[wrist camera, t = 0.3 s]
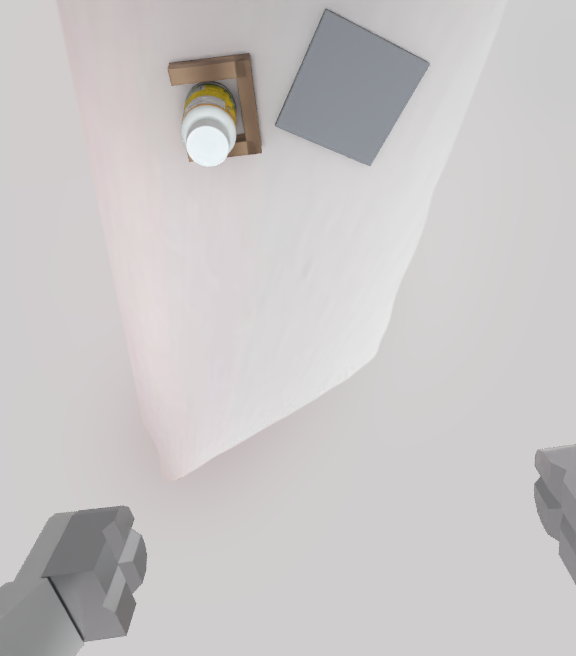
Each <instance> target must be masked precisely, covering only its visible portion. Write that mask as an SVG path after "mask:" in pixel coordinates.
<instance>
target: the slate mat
mask: <svg viewBox="0 0 576 656" xmlns="http://www.w3.org/2000/svg"><path fill="white" fill-rule="evenodd" d="M429 65H430V64H429V63H428V62H427V61H425V60H423V59H421V58H419V57H417V56H415V55H413V54H411V53H409V52H407V51H406V50H404V49H402V48H400V47H398V46H396V45H394V44H392V43H390V42H388V41H386V40H384V39H383V38H381V37H379V36H377V35H375V34H373V33H371V32H369V31H367V30H365V29H363V28H362V27H360V26H358V25H356V24H354V23H352V22H350V21H348V20H346V19H344V18H342V17H340V16H339V15H337V14H335V13H333V12H331V11H329V10H327V9H325V11H324V14H323V16H322V18H321V21H320V23H319V25H318V27H317V30H316V32H315V34H314V37H313V39H312V41H311V44H310V46H309V48H308V50H307V53H306V55H305V57H304V60H303V62H302V64H301V66H300V69H299V71H298V73H297V76H296V78H295V80H294V83H293V85H292V87H291V89H290V92H289V94H288V96H287V99H286V101H285V103H284V105H283V108H282V110H281V112H280V115H279V117H278V119H277V122H276V124H275V126H276V127H278V128H280V129H283V130H285V131H288V132H290V133H292V134H295V135H297V136H299V137H302V138H304V139H307V140H309V141H311V142H314V143H316V144H318V145H321V146H323V147H326V148H328V149H330V150H333V151H335V152H337V153H340V154H342V155H345V156H347V157H349V158H352V159H354V160H356V161H359V162H361V163H364V164H366V165H368V166H370V165H371V164H372V162H373V160H374V159H375V157H376V155H377V154H378V152H379V150H380V148H381V147H382V145H383V143H384V142H385V140H386V138H387V137H388V135H389V133H390V131H391V130H392V128H393V126H394V125H395V123H396V121H397V120H398V118H399V116H400V114H401V113H402V111H403V109H404V108H405V106H406V104H407V103H408V101H409V99H410V97H411V96H412V94H413V92H414V91H415V89H416V87H417V86H418V84H419V82H420V80H421V79H422V77H423V75H424V74H425V72H426V70H427V69H428V67H429Z"/></svg>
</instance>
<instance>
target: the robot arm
mask: <svg viewBox="0 0 576 656" xmlns="http://www.w3.org/2000/svg"><path fill="white" fill-rule="evenodd" d="M535 467H536V469H537V471H538V472H539V474H540V476H541V477H540V478H539V479H538V480H537V481H536V483H535V484H534V496H535V497H534V498H535V503H536V507H537V512H538V514H539V517H540V519H541V522H542V524H543V526H544V528H545V530H546V532H547V533H548V535H550V536H551V537H553V538H555V539H556V540H558V541H559V542H560V543H559V555H560V557H561V559H562V561H563V562H564V564H565V566H566V568H567V569H568V571H569V573H570V575H571V577H572V579H573V580H574V582H575V584H576V444H574V445H567V446H560V447H553V448H546V449H539V450H537V452H536V455H535ZM133 521H134V517H133V515H132V513H131V511H130V509H129V507H126V506H116V507H107V508H98V509H89V510H79V511H76V512H66V513H57V514H54V515H53V516H52V517H50V518H49V520H48V521H47V523H46V525H45V526H44V528H43V530H42V532H41V533H40V535H39V537H38V539H37V541H36V542H35V544H34V546H33V548H32V549H31V551H30V553H29V555H28V557H27V558H26V560H25V562H24V564H23V565H22V567H21V569H20V571H19V573H18V574H17V576H16V578H15V580H14V581H13V582H8V583H5V584H4V585H3V586H2V587H0V656H75V655H76V654H77V653H78V652H79V650H80V649H81V648H82V647H83V646H84V642H87V641H92V640H101V639H107V638H115V637H121V636H126V635H127V632H128V629H129V626H130V622H131V619H132V616H133V612H134V609H135V606H136V602H135V600H134V598H133V595H132V593H133V592H134V591H135V590H136V589H137V588H138V587H139V586H140V585H141V584H142V583H143V579H144V576H145V572H146V561H147V553H146V548H145V543H144V540H143V538H142V535H141V534H139V533H138V532H136V531H135V530H133V529H132V528H131V527H132V525H133Z"/></svg>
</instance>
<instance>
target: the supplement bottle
mask: <svg viewBox="0 0 576 656" xmlns="http://www.w3.org/2000/svg"><path fill="white" fill-rule="evenodd" d="M181 137H182V140H183V143H184V145H185V146H186V149H187V152H188V154H189V156H190V157H191V159H192V160H193V161H194V162H196V163H197V164H199V165H202V166H205V167H213V166H217V165H219V164H221V163H222V162H223V161H224V160H225V159H226V157H227V156H228V153H229V152H230V151H231V150H232V148H233V147H234V144H235V141H236V104H235V101H234V99H233V97H232V95H231V93H230V92H229V91H228V90H227V89H226V88H225V87H224V86H222V85H220V84H218V83H214V82H204V83H200V84H198V85H196V86H195V87H194V88H192V90H191V91H190V92H189V94H188V96H187V98H186V101H185V108H184V114H183V119H182V124H181Z"/></svg>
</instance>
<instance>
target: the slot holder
mask: <svg viewBox="0 0 576 656" xmlns="http://www.w3.org/2000/svg"><path fill="white" fill-rule="evenodd" d="M168 73H169V77H170V81H171V86H174V85H182V84H190V83H199V82H207V81H215V80H224V79H232V78H237V83H238V90H239V96H240V103H241V110H242V116H243V123H244V130H245V134H239V135H236V141H235V144H234V147H233V148H232V150H231V151H230V152H229V153H228V156H227V157H233V156H241V155H250V154H258V153H262V149H261V140H260V132H259V124H258V117H257V109H256V101H255V94H254V86H253V78H252V71H251V63H250V55H249V54H241V55H232V56H224V57H216V58H208V59H199V60H191V61H183V62H174V63H169V67H168ZM187 154H188V152H187ZM188 158H189V162H191V161H193V160H192V159H191V157H190V156H189V154H188Z"/></svg>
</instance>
